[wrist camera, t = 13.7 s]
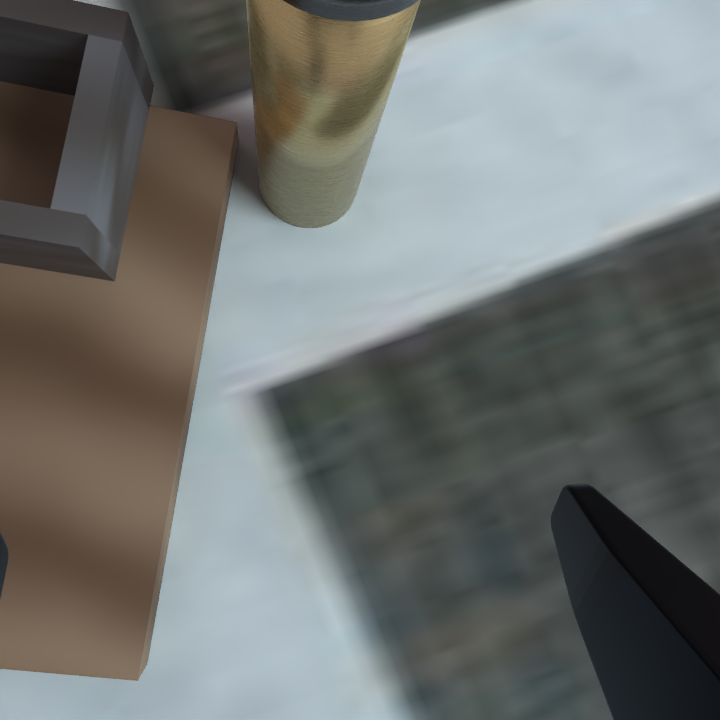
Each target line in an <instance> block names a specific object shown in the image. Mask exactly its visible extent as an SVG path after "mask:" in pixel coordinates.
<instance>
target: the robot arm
mask: <svg viewBox="0 0 720 720" xmlns="http://www.w3.org/2000/svg"><path fill="white" fill-rule="evenodd" d="M551 528H552V532H553V536H554V540H555V544H556V547H557V551H558V555H559V559H560V563H561V567H562V571H563V575H564V578H565V582H566V586H567V590H568V594H569V598H570V601H571V605H572V608H573V612H574V615H575V618H576V621H577V624H578V627H579V629H580V632H581V635H582V637H583V640H584V643H585V645H586V648H587V651H588V653H589V656H590V659H591V661H592V664H593V667H594V669H595V672H596V675H597V677H598V680H599V683H600V685H601V688H602V691H603V693H604V696H605V699H606V701H607V704H608V707H609V709H610V712H611V715H612V717H613V720H720V594H718V593H717V592H716V591H715V590H714V589H713V588H711V587H710V586H709V585H708V584H707V583H706V582H704V581H703V580H702V579H701V578H700V577H698V576H697V575H696V574H695V573H694V572H693V571H691V570H690V569H689V568H688V567H687V566H686V565H684V564H683V563H682V562H681V561H680V560H678V559H677V558H676V557H675V556H674V555H673V554H671V553H670V552H669V551H668V550H667V549H666V548H664V547H663V546H662V545H661V544H660V543H658V542H657V541H656V540H655V539H654V538H653V537H651V536H650V535H649V534H648V533H647V532H645V531H644V530H643V529H642V528H641V527H640V526H638V525H637V524H636V523H635V522H634V521H633V520H631V519H630V518H629V517H628V516H627V515H625V514H624V513H623V512H622V511H621V510H620V509H618V508H617V507H616V506H615V505H614V504H613V503H611V502H610V501H609V500H608V499H607V498H605V497H604V496H603V495H602V494H601V493H600V492H598V491H597V490H596V489H595V488H594V487H592V486H590V485H588V484H573V485H566V486H565V487H564V488H563V489H562V491H561V493H560V496H559V498H558V501H557V503H556V505H555V508H554V510H553V513H552V516H551ZM8 559H9V552H8V547H7V544H6V542H5V540H4V538H3V536H2V534H1V532H0V599H1V594H2V589H3V585H4V580H5V575H6V570H7V565H8Z"/></svg>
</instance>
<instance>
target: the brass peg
mask: <svg viewBox="0 0 720 720" xmlns="http://www.w3.org/2000/svg"><path fill="white" fill-rule="evenodd" d="M246 2H247V17H248V31H249V46H250V61H251V75H252V90H253V105H254V119H255V134H256V149H257V163H258V178H259V187H260V191H261V194H262V197H263V199H264V201H265V203H266V204H267V206H268V207H269V208H270V210H271V211H272V212H273V213H274V214H275V215H276V216H277V217H279V218H280V219H282V220H283V221H285V222H287V223H289V224H292V225H294V226H298V227H303V228H317V227H323V226H326V225H329V224H331V223H333V222H335V221H337V220H338V219H340V218H341V217H342V216H343V215H344V214H345V213H346V212H347V211H348V210H349V208H350V207H351V205H352V203H353V201H354V199H355V196H356V193H357V190H358V187H359V184H360V181H361V178H362V175H363V172H364V169H365V166H366V163H367V160H368V157H369V154H370V151H371V148H372V145H373V142H374V139H375V136H376V133H377V130H378V127H379V124H380V121H381V118H382V115H383V112H384V109H385V106H386V103H387V100H388V97H389V94H390V91H391V88H392V85H393V82H394V79H395V76H396V73H397V69H398V66H399V63H400V60H401V57H402V54H403V51H404V48H405V45H406V42H407V39H408V36H409V33H410V30H411V27H412V24H413V21H414V18H415V15H416V12H417V9H418V6H419V3H420V0H246Z"/></svg>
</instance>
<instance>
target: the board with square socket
mask: <svg viewBox="0 0 720 720" xmlns="http://www.w3.org/2000/svg"><path fill="white" fill-rule="evenodd" d="M153 87H154V85H153V82H152V79H151V76H150V73H149V70H148V68H147V65H146V62H145V59H144V56H143V53H142V50H141V48H140V45H139V42H138V39H137V36H136V33H135V30H134V27H133V25H132V22H131V19H130V16H129V13H128V12H125V11H120V10H115V9H111V8H106V7H101V6H97V5H92V4H87V3H83V2H78V1H73V0H0V532H1V534H2V536H3V538H4V540H5V542H6V544H7V547H8V552H9V559H8V565H7V570H6V575H5V580H4V585H3V589H2V594H1V599H0V669H10V670H22V671H33V672H45V673H56V674H67V675H79V676H90V677H102V678H113V679H125V680H136V681H138V679H139V678H140V676H141V674H142V672H143V670H144V669H145V667H146V665H147V662H148V656H149V651H150V645H151V639H152V633H153V628H154V622H155V616H156V611H157V605H158V599H159V593H160V588H161V582H162V576H163V571H164V565H165V559H166V554H167V548H168V542H169V536H170V531H171V525H172V519H173V514H174V508H175V502H176V496H177V491H178V485H179V479H180V474H181V468H182V462H183V457H184V451H185V445H186V439H187V434H188V428H189V422H190V417H191V411H192V405H193V399H194V394H195V388H196V382H197V377H198V371H199V365H200V360H201V354H202V348H203V342H204V337H205V331H206V325H207V320H208V314H209V308H210V302H211V297H212V291H213V285H214V280H215V274H216V268H217V263H218V257H219V251H220V245H221V240H222V234H223V228H224V223H225V217H226V211H227V205H228V200H229V194H230V188H231V183H232V177H233V171H234V166H235V160H236V154H237V148H238V143H239V139H238V131H237V123H236V122H232V121H227V120H222V119H216V118H211V117H206V116H201V115H196V114H191V113H186V112H181V111H176V110H171V109H166V108H161V107H156V106H151V105H150V102H151V97H152V92H153Z"/></svg>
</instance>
